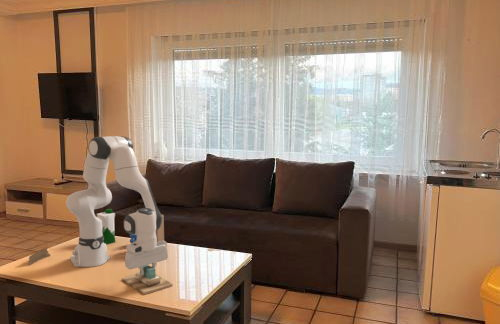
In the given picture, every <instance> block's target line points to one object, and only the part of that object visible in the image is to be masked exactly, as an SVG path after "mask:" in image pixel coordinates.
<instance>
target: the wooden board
mask: <svg viewBox="0 0 500 324" xmlns="http://www.w3.org/2000/svg"><path fill="white" fill-rule="evenodd" d="M155 275H157V274H156V273H155ZM157 276H158V277H160V283H158V284H155V285H152V286H147V285H145V284H144V283H142V282H140V281H139V280H137V279H136V273H133V274H130V275H126V276H123V277H121V281H123V282H124V283H125V284H127V285H129V286H130V287H132V288H133V289H135V290H137V292H140V293H141V294H143V295H144V296H145V295H148V294H152V293H155V292H158V291H161V290H164V289H167V288H171V287H173V286H174V285H173V283H172V282H171V281H169V280H167V279H166V278H163V277H161V276H159V275H157Z"/></svg>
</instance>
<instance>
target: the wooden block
mask: <svg viewBox="0 0 500 324" xmlns="http://www.w3.org/2000/svg"><path fill="white" fill-rule="evenodd" d="M161 216H162V219H163V221H162V225H161V226H160V228H159V229H158V230H156V232H155V233H156V237H157V242H158V241H162V240H164V241H165V224H164V222H165V219H164V217H165V216H164V214H161Z"/></svg>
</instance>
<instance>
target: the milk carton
mask: <svg viewBox="0 0 500 324" xmlns="http://www.w3.org/2000/svg"><path fill="white" fill-rule="evenodd" d="M96 217H98V218H99V219H101V221H102V234H103V237H104V243H105V244H106V245H109V244H113V243H116V234H115V230H116V229H115V217H116V213H115V212H114V211H113V208H107V209H104V212H100V213H96Z"/></svg>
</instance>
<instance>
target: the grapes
mask: <svg viewBox="0 0 500 324" xmlns="http://www.w3.org/2000/svg"><path fill="white" fill-rule="evenodd" d="M129 237H130V239H129V244H131V243H133V242H134V241H136V240H137V235H136V234H129Z"/></svg>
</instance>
